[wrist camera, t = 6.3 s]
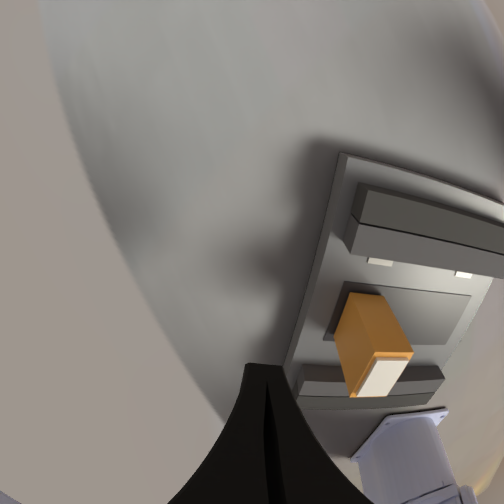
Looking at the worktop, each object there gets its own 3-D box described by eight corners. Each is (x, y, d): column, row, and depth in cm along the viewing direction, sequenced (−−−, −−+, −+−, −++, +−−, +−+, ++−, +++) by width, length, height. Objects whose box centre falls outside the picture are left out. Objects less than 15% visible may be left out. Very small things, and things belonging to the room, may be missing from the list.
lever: (364, 338, 16) (387, 399, 12) (333, 336, 16) (350, 400, 12) (383, 295, 15) (415, 355, 11) (350, 292, 15) (376, 355, 11)
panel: (415, 385, 21) (421, 399, 20) (277, 383, 21) (278, 400, 19) (504, 203, 14) (519, 212, 13) (339, 152, 14) (348, 157, 12)
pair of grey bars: (420, 391, 19) (426, 404, 18) (291, 392, 19) (292, 408, 18) (507, 224, 13) (521, 234, 12) (357, 181, 13) (368, 190, 12)
